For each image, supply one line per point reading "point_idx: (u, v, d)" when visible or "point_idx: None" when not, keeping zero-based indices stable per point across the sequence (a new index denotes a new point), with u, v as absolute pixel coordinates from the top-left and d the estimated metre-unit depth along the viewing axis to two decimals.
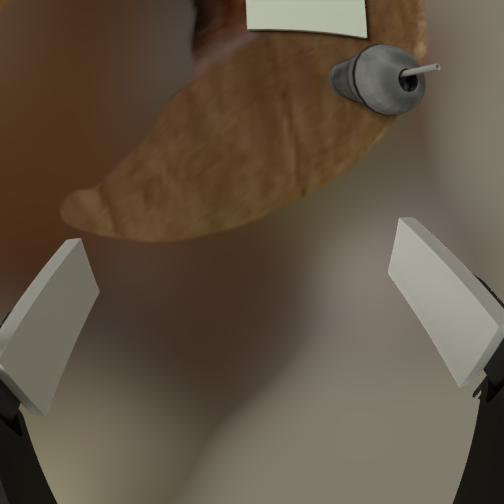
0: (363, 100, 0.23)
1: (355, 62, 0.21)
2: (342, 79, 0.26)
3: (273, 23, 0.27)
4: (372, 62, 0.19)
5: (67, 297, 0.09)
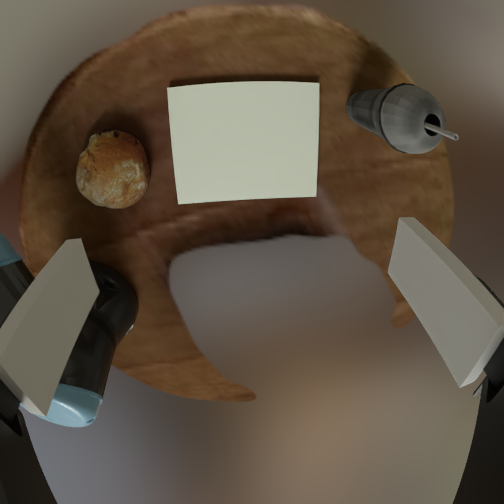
0: None
1: (397, 150, 0.25)
2: None
3: (311, 174, 0.37)
4: (410, 148, 0.23)
5: (67, 297, 0.09)
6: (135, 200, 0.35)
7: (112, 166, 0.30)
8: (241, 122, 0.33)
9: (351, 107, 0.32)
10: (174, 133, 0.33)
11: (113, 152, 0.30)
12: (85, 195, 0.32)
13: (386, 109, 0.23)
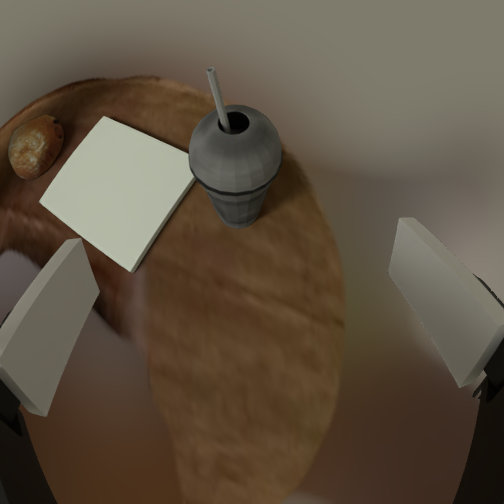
0: (245, 192, 0.21)
1: (197, 179, 0.21)
2: (223, 208, 0.26)
3: (139, 244, 0.31)
4: (198, 156, 0.19)
5: (67, 297, 0.09)
6: (23, 169, 0.31)
7: (32, 128, 0.30)
8: (120, 164, 0.33)
9: None
10: (79, 147, 0.34)
11: (41, 123, 0.31)
12: None
13: None
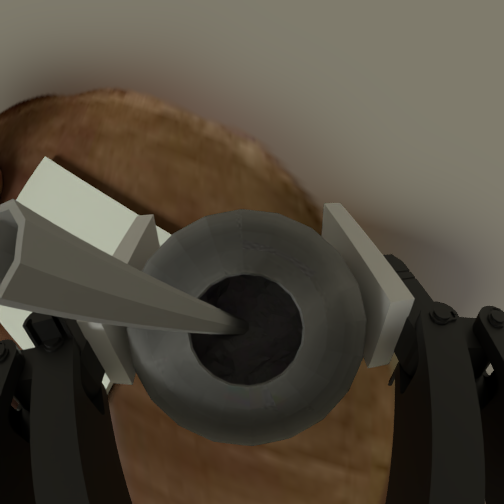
0: None
1: None
2: None
3: None
4: (149, 394, 0.06)
5: None
6: None
7: None
8: None
9: None
10: None
11: None
12: None
13: None
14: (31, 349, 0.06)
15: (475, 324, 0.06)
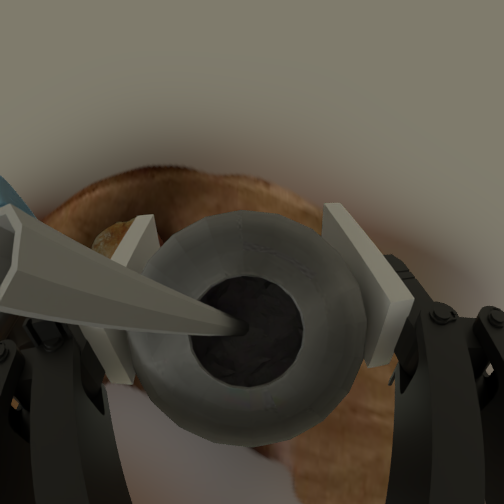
0: None
1: None
2: None
3: None
4: (149, 395, 0.06)
5: None
6: None
7: None
8: None
9: None
10: None
11: None
12: None
13: None
14: (31, 349, 0.06)
15: (475, 323, 0.06)
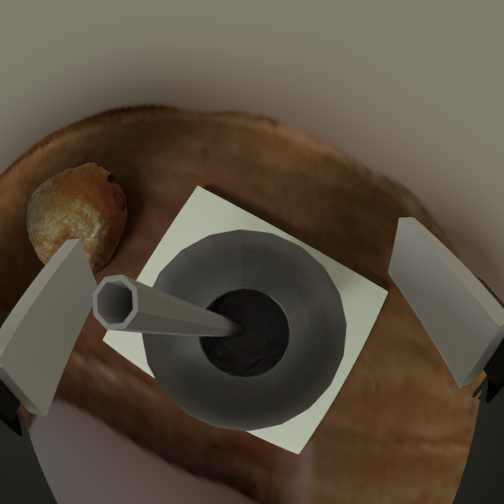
0: None
1: None
2: None
3: (310, 420, 0.20)
4: (162, 387, 0.08)
5: (67, 297, 0.09)
6: None
7: (73, 197, 0.19)
8: None
9: None
10: (163, 246, 0.23)
11: (89, 186, 0.20)
12: (27, 210, 0.20)
13: None
14: None
15: None
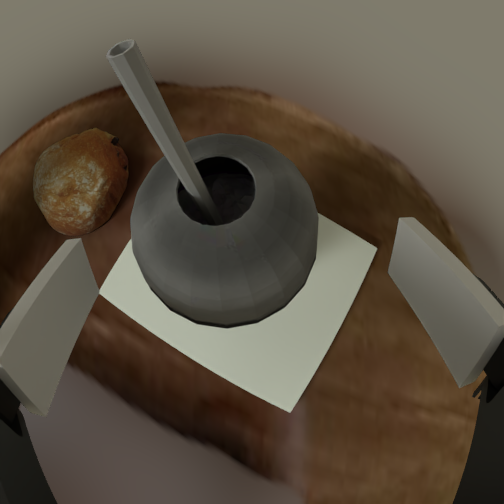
0: (244, 323, 0.11)
1: (151, 289, 0.11)
2: None
3: (302, 375, 0.21)
4: (143, 263, 0.09)
5: (67, 297, 0.09)
6: (66, 224, 0.21)
7: (79, 154, 0.20)
8: None
9: None
10: None
11: (94, 145, 0.21)
12: (34, 170, 0.21)
13: None
14: None
15: None
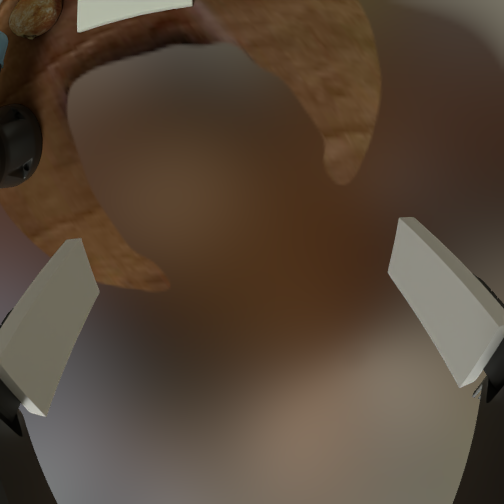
0: None
1: None
2: None
3: None
4: None
5: (67, 297, 0.09)
6: (44, 22, 0.25)
7: None
8: None
9: None
10: None
11: None
12: (11, 26, 0.23)
13: None
14: None
15: None
